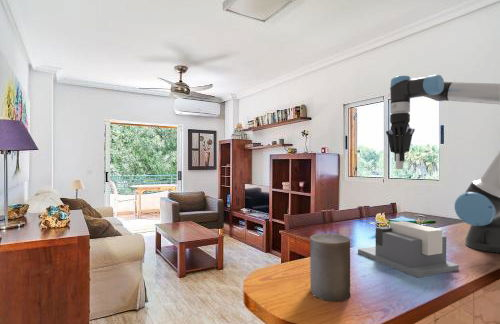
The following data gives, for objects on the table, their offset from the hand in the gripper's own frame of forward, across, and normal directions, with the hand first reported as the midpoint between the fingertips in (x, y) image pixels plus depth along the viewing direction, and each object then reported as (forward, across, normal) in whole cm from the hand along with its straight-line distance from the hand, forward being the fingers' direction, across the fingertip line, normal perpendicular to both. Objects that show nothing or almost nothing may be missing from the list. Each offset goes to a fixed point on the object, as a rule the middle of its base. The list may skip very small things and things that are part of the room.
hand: (399, 169), depth 130 cm
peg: (+24, +27, -23) cm, 43 cm away
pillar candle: (+30, +34, -61) cm, 76 cm away
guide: (+29, +23, -23) cm, 44 cm away
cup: (+30, +11, -2) cm, 32 cm away
